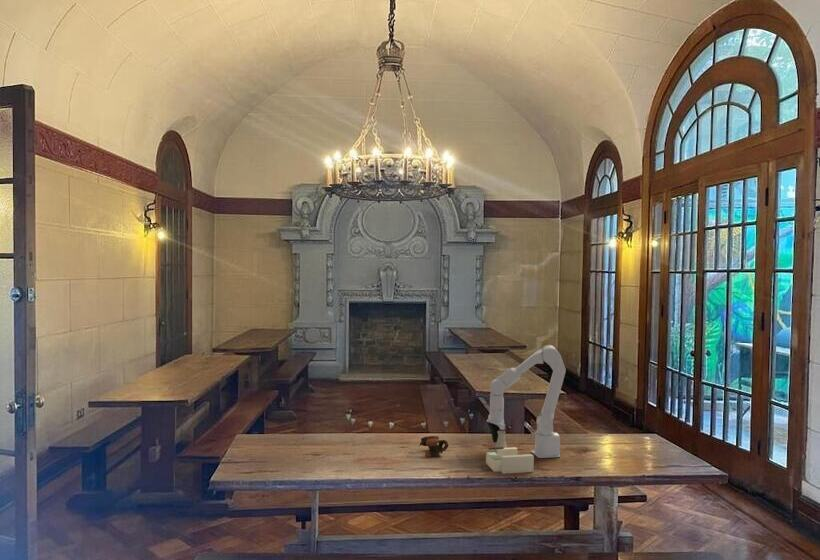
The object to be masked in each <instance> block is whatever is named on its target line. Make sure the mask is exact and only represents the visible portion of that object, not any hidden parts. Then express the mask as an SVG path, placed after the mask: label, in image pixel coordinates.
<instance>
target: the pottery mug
mask: <svg viewBox="0 0 820 560" xmlns="http://www.w3.org/2000/svg"><path fill="white" fill-rule="evenodd" d="M443 445H444V446H443ZM421 446H423V447H428V449H429V450H426V451H424V454H425V458H431V457H433V458H434V457H440V454H441V455H442V454H443V452H444V451H445V452H446V450H448V447H449V443H448V441H447V440H446V439H441V440H440V439H439V436H438V435H430V436H429V435H428V436H424V437H421V439H420V443H419V447H421Z"/></svg>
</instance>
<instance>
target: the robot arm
mask: <svg viewBox="0 0 820 560" xmlns="http://www.w3.org/2000/svg"><path fill="white" fill-rule="evenodd" d="M544 362H545V363H546V364H547V365H548V366H550V368H551V369H552V374H551V377H550V381H549V385H548V387H547V388H548V389H547V392H546V395H545V399H544V403H543V406H542V408H541V410H540V413H539V415H538V416H537V417H536V421H535V422H536V426H537V427H536V428H537V429H535V433H534V436H535V438H534V450H530V452H531V454H532V455H533V456H536V457H537V458H538V459H547V458H548V459H550V458H560V457H561V453H560V452H561V437H560V435H559V433H558V432H557V431H556V432H554V424H553V423H554V419H555V418H554V417H555V411H556V407H557V404H558V400H559V397H560V393H561V389H562V386H563V384H564V379H565V375H566V372H567V370H566V366H565V363H564V361H563V358H562V355H561V353H560V352H559V350H558V349H557V348H556V347H555V345H552V344H547V345H544V346H543V347H542V348H540V349H538V350H536V351H534V353H533V354H532V355H530V356H529V357H528V358H527V357H526V359H525V360H523V362H522V363H520V364H519V365H517V366H516V367H510V368H505V372H503V373H502V374H500V375H498V376H496V378H494V379H492V381H490V385H489V391H490V394H489V396H490V397H489V414H488V416H487V417H488V418H487V419H486V422H487V423H488V428H489V430H490V433H491V439H492V441H493V443H495V444H496V443H497V439H498V433H497V431H504V430H505V429H506V424H505V418H504V415H505V413H504V411H505V406H504V404H505V398H504V392H505V389H508V388H510V387H511V386H513V385H514V384H515V383H517V382H518V381H519V380H520V379H521V375H522V374H523V373H525V372H526V371H528V370H529V369H530V368H532V367H533V366H535V365H540V364H541V365H543V364H544Z"/></svg>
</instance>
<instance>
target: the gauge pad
mask: <svg viewBox="0 0 820 560" xmlns="http://www.w3.org/2000/svg"><path fill="white" fill-rule="evenodd" d="M494 449H497V454H498V455H499V456H500V457H501V456H507V455H519V453H518V450H519V449H518V448H517V447H516V446H515V447H507V448H504V447H495V446H494V447H488V450H489V451H493V450H494Z"/></svg>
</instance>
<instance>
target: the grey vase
mask: <svg viewBox="0 0 820 560" xmlns="http://www.w3.org/2000/svg"><path fill="white" fill-rule="evenodd" d="M497 433H498V439H497V442H495V446H494V447H504V448H508V446H507V442H506V437H505V436H506V435H505V434H506V431H505V430H503V431H497ZM493 451H494V452H495V453H496V454H497V449H493Z"/></svg>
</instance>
